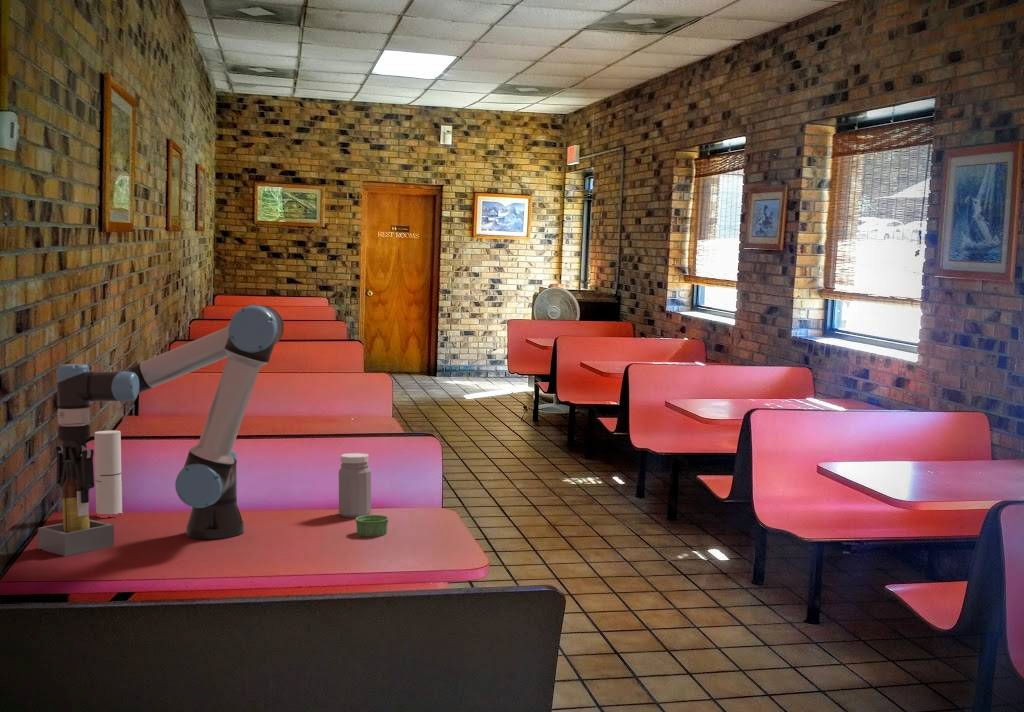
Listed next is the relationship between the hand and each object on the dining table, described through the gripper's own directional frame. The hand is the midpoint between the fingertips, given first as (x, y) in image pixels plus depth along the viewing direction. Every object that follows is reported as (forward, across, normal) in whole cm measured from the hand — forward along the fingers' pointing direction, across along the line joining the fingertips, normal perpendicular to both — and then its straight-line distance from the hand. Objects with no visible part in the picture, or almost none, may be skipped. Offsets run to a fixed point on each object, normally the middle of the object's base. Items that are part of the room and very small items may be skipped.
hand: (75, 513), depth 254 cm
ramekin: (+9, +51, +56) cm, 76 cm away
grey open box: (+9, 0, 0) cm, 9 cm away
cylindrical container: (+9, -28, +27) cm, 40 cm away
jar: (+9, +30, +71) cm, 77 cm away
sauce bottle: (+6, 0, 0) cm, 6 cm away
